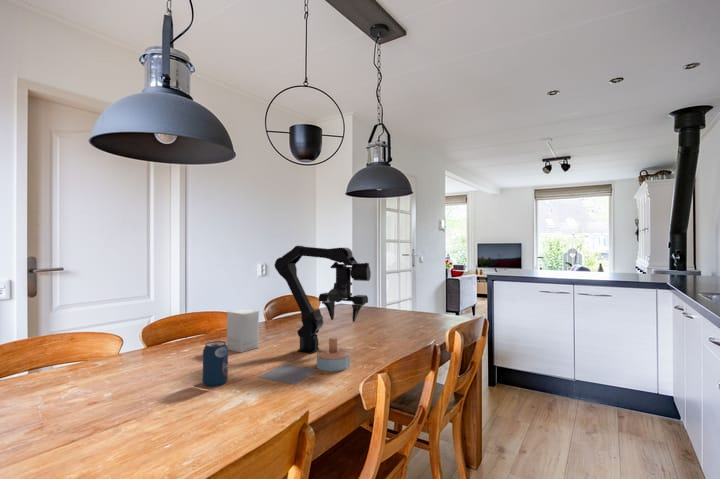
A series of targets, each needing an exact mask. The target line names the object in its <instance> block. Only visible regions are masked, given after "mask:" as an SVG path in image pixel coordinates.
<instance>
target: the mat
mask: <svg viewBox="0 0 720 479" xmlns="http://www.w3.org/2000/svg"><path fill="white" fill-rule="evenodd" d="M319 370H320V369H316V368H308V367H305V366H304V367H302V366H296V365H291V364H285V363H283V364H280V365H279V366H277V367H275V368H273V369H271V370H269V371H267V372H264V373H262V374H261V375H258V376H257V378H258V379H259V378H260V379H262V380H269V381H274V382H280V383H285V384H290V385H296V384H298V383H301V381H303V380H305V379H307V378H308V377H310V376H312V375H314V374H315V373H316V372H319Z"/></svg>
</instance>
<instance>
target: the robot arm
mask: <svg viewBox="0 0 720 479" xmlns="http://www.w3.org/2000/svg"><path fill="white" fill-rule="evenodd" d="M302 257H309V258H310V257H312V258H321V259H327V260H330V261H334V263H333V264H331V265H330V268H331V269H335V282H334V284H333V288H331V289H330V290H329V291H328V292H323V293H320V294H319V295H318V302H321V304H323V305H324V306H325V307H326V310H327V311H328V314H329V317H330V320H331V321H333V320H334V318H335V308H336V307H335V306H336V303H341V302H342V301H343V302H352V303H353V304H351V307H352V323H355V322H356V320H357V318H358V314H359V312H360V310H361V309H362V306H364V305H366V304H367V303H369V297H368V296H367V295H366V294H365V295H364V294H357V295H354V296H353V293H352V291H351V290H352V288H351V287H352V285H353V282H351V281H352V280H351V279H353V281H355V282H356V281H359V282H369V281H370V280H371V274H372V271H371V268H370V263H369V262H362V263H359V262H358V261H357V260H356V259H355V257H354V256H353V251H352V249H351V248H349V247H334V248H323V247H313V246H304V245H295V246H294V247H293V248H292V249H291V250H290V251H288V252H287V253H285V254H283V255H282V256H281V257H278V258H277V259H276V260H275V263H274V264H273V265H274V269H275V270H276V272H277V273H278V274H279V276H281V277H282V278H283V280H285V282H286V284H287V285H288V287H289V290H290V292H291V294H292V297H293V298H294V300H295V302H296V304H297V307H298V309H299V310H300V314H301V317H300V318H301V323H302V326H301V327H300V328H299V329H298V330H297V335H298V337H299V349H297V350H296V351H297V352H301V353H307V354H313V353H314V352H317V351H318V350H320V347H319V338H318V333H319V332H320V329H322V327H323V324H324V316H323V315H322V314H321V311H320V308H318V309H315V308H313V306H312V304H311V302H310V299H309V298H308V296H307V294H306V292H305V290H304V287H303V285H302V284H301V282H300V279H299V277H298V275H297V274H298V271H297V270H298V269H297V266H296V264H298V262H299V261H301V258H302Z"/></svg>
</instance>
